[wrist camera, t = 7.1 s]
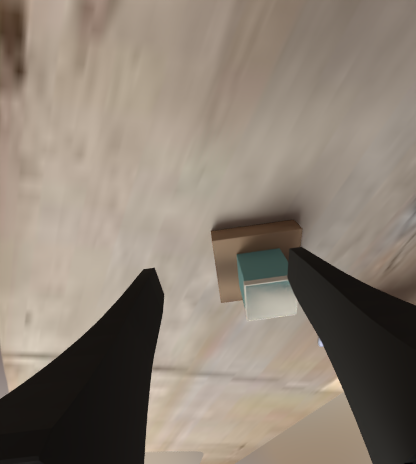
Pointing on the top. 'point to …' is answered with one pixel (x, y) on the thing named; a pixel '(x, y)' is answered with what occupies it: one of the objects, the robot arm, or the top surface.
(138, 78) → the top surface
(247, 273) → the teal tin
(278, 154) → the top surface
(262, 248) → the walnut block
